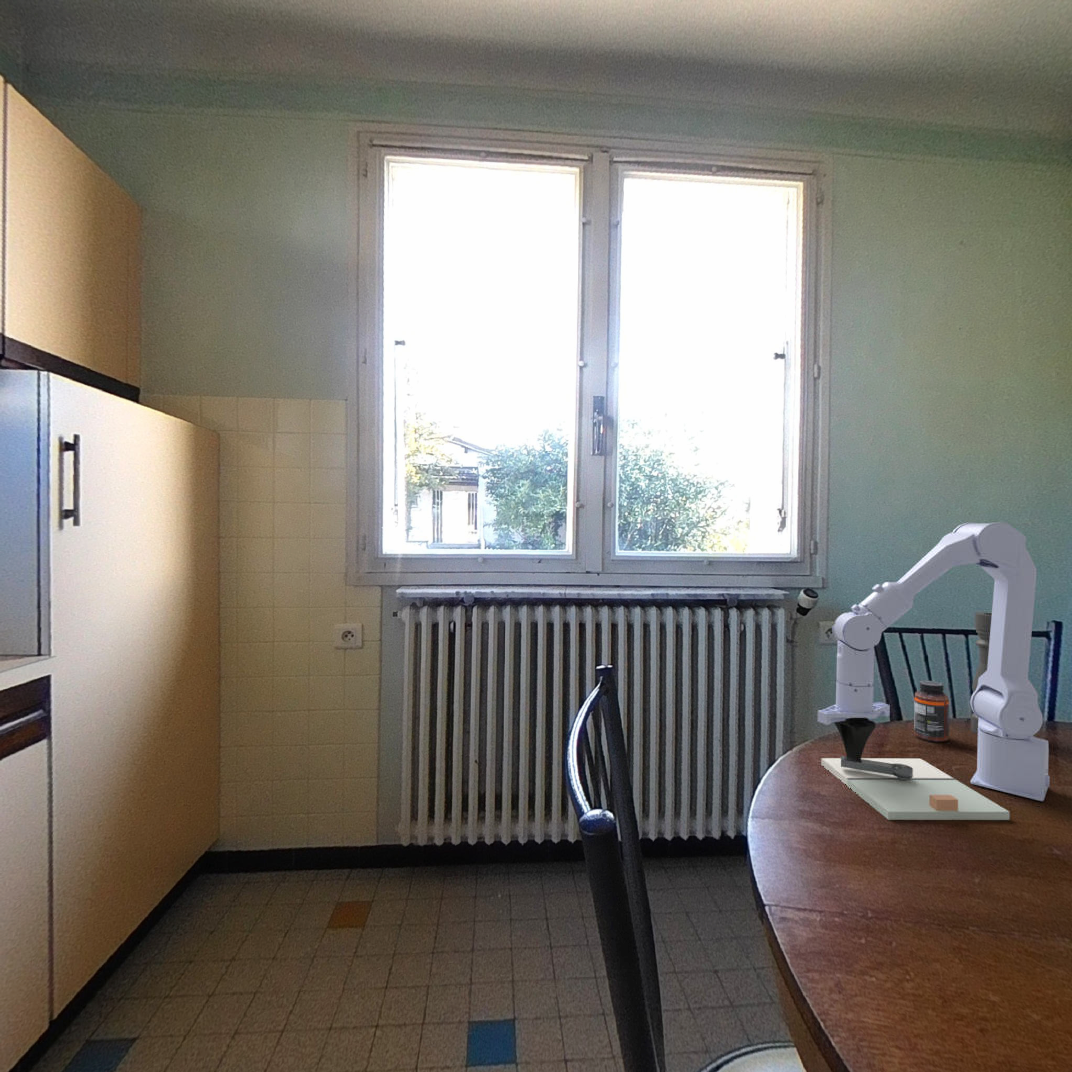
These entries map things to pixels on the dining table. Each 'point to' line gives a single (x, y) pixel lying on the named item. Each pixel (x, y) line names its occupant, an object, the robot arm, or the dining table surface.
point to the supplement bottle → (931, 712)
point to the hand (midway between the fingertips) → (853, 760)
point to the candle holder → (981, 654)
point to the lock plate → (916, 793)
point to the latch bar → (877, 767)
